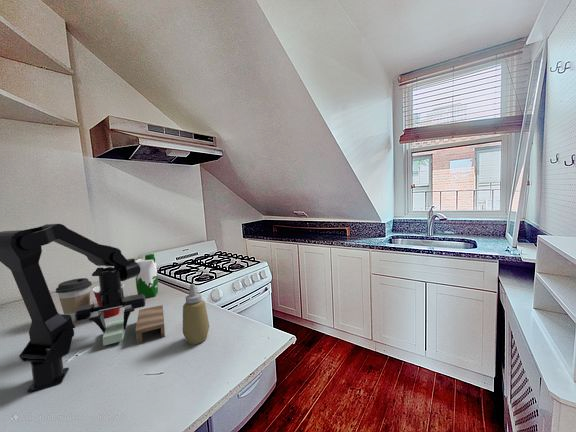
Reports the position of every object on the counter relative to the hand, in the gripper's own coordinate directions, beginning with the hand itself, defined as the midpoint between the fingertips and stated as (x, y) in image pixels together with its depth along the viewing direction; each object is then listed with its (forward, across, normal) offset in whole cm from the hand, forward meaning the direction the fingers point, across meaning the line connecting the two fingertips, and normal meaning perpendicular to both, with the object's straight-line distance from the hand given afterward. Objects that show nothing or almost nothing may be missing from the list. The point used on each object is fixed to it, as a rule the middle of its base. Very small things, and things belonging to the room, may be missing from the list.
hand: (115, 331), depth 85 cm
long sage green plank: (+1, 0, 0) cm, 1 cm away
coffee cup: (+2, +16, -29) cm, 33 cm away
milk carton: (+2, -8, -40) cm, 41 cm away
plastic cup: (+2, +4, -24) cm, 25 cm away
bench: (+2, -10, 0) cm, 11 cm away
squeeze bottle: (+2, -24, +17) cm, 29 cm away
